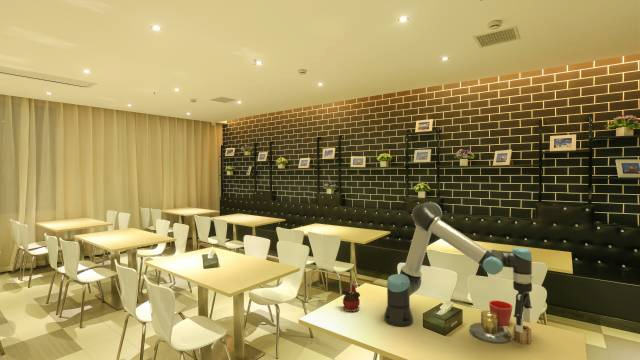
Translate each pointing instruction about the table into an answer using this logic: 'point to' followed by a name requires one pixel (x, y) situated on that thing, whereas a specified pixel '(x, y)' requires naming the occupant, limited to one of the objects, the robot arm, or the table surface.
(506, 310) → the flower pot
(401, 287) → the robot arm
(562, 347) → the table surface
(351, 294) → the red vase
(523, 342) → the gear
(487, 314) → the carrier
